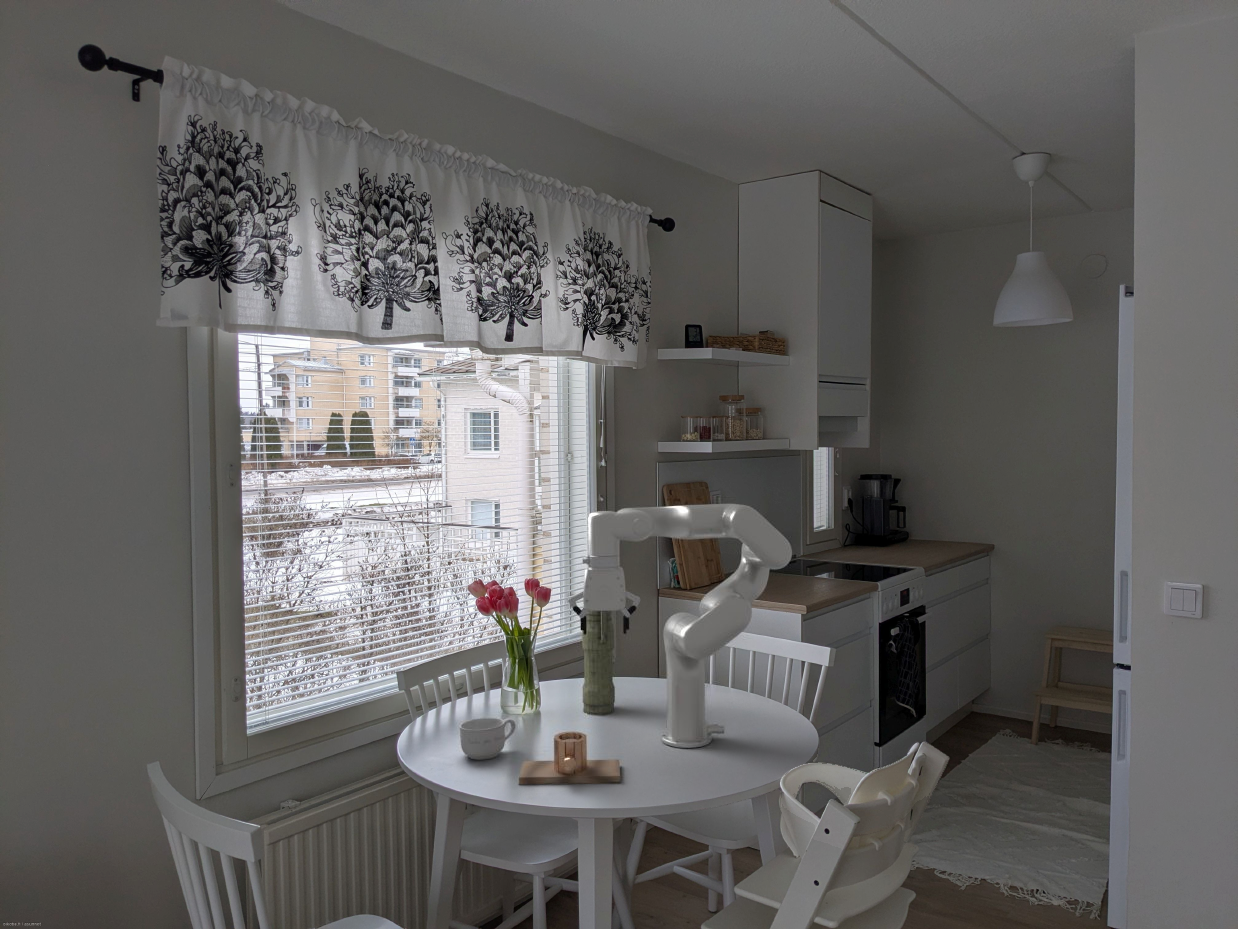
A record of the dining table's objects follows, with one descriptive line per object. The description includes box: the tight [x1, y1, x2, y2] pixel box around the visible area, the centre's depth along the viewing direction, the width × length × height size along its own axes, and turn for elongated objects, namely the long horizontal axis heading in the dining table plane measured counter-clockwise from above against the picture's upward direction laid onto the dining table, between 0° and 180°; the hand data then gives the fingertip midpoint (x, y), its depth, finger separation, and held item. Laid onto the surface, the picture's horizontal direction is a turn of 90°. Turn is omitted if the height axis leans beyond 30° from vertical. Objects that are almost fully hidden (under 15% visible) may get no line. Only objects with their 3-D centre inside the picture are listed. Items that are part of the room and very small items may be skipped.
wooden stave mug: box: [553, 731, 588, 774], centre depth 191 cm, size 7×11×7 cm, turn 1°
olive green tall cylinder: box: [581, 611, 616, 716], centre depth 240 cm, size 9×12×35 cm
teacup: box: [459, 716, 516, 761], centre depth 206 cm, size 14×11×8 cm
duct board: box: [518, 739, 621, 785], centre depth 192 cm, size 22×10×8 cm, turn 91°
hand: (604, 633), depth 208 cm, fingers open, 9 cm apart
